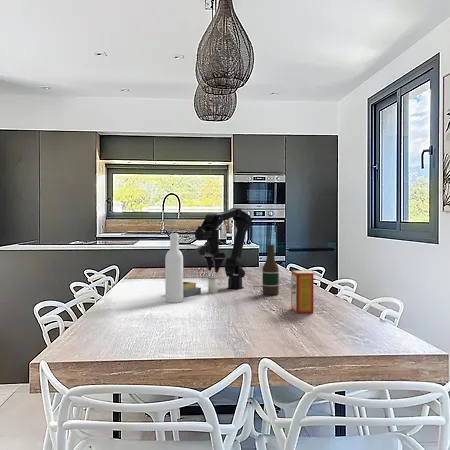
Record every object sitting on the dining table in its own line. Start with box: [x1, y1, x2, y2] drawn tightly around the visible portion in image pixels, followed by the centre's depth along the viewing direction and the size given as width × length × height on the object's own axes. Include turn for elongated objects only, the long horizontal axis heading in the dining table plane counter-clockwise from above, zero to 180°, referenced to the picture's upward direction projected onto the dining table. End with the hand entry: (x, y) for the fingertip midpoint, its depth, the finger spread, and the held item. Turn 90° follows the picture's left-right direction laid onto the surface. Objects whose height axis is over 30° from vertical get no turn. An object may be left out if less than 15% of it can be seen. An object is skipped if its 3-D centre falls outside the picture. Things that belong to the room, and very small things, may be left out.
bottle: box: [164, 232, 184, 304], centre depth 214 cm, size 8×8×30 cm
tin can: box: [207, 276, 219, 295], centre depth 238 cm, size 5×5×7 cm
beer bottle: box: [262, 244, 280, 297], centre depth 233 cm, size 8×8×24 cm
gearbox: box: [183, 281, 202, 298], centre depth 233 cm, size 14×12×6 cm
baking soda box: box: [290, 269, 314, 314], centre depth 193 cm, size 10×6×16 cm
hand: (213, 271), depth 238 cm, fingers open, 9 cm apart
